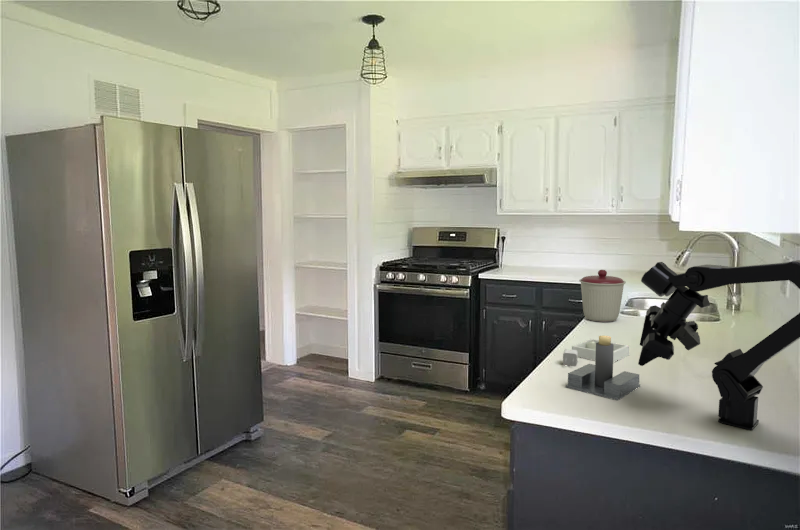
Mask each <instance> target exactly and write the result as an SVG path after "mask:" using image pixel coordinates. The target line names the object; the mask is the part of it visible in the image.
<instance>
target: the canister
mask: <svg viewBox="0 0 800 530" xmlns="http://www.w3.org/2000/svg"><path fill="white" fill-rule="evenodd" d="M607 274H608V272H607V270H606V269H600V270H598V272H597V275H586V276H584V277H582V278H580V279H579V283H580V290H581V300H582V301H581V302H582V310H583V316H584V317H585V318H586V319H587V320H589V321H593V322H598V323H599V322H600V323H609V322H611V323H612V322H615V321H616V320H618V317H619V315H620V312H621V305H622V299H623V295H624V293H623V292H624V285H625V284H626V281H625V280H624V279H622V278H620V277H618V276H612V275H607Z"/></svg>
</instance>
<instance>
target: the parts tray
mask: <svg viewBox="0 0 800 530" xmlns="http://www.w3.org/2000/svg"><path fill="white" fill-rule="evenodd" d="M590 341H593V342H595V343H598V342H599V339H594V338H589V339H585V340H584V341H582V342H578V343H576V344H573V345H571V350H577V352H578V358H580V357H581V358H580V359H585V358H586V360H589V359H592V360H591V361H594V360H595V358H596V350H593V349H588V348H586V343H588V342H590ZM611 344H613V345H614V351H613V362H614V363H616V362H618V361H621V360H622V359H625V358H627V357H628V356H630V345H627V344H622V343H616V342H612V341H611ZM626 356H627V357H626ZM624 357H625V358H624ZM617 360H618V361H617ZM615 361H616V362H615Z"/></svg>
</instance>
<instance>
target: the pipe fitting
mask: <svg viewBox="0 0 800 530" xmlns="http://www.w3.org/2000/svg"><path fill="white" fill-rule="evenodd" d="M586 348H588V349H593V350H596V343H595V342H593V341H590V342H588V343H586Z"/></svg>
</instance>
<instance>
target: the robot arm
mask: <svg viewBox="0 0 800 530" xmlns="http://www.w3.org/2000/svg"><path fill="white" fill-rule="evenodd" d="M782 281H783V282H784V281H786V282H787V281H789V282H791V283H792V284H793V285H795V286H796V287H797V288H798V289H799V290H800V259H797V260H793V261H787V262H775V263H766V264H763V263H762V264H755V265H754V264H753V265H752V264H751V265H742V266H728V265H722V264H720V265H719V264H718V265H717V264H701V265H694V266H691V267H689V268H687V269H686V270H685V272H683V273H679V274H678V273H676V272H675V271H673V269H671V268H669V266H668V265H667V264H666V263H664V261H659V262H656V263H655V264H654V265H653V266H652V267H651V268H649V270H647V271H646V272H645V273H643V275H642V277H641V280H640V282H641V283H642V284H643V285H644V286H646V287H647V288H648V289H649V290H651V291H652V292H653V293H654V294H656V295H657V296H659V298H660V297H664V296H665V297H668V299H667V300H666V302H664V301H662V303H661V304H660V306H657V305H650V306H649V308H648V309H647V310H646V313H645V314H646V315H645V316H644V322H643V327H642V330H641V336H640V341H639V346H641V351H640V354H639V358H638V365H639V366H641V367H643V366H645V365H646V364H648V363H650V362H652V361H653V360H655V359H657V358H661V359H664V360H668V361H669V360H671V358H672V357H674V355H675V346H674V343H673V341H675V340H678V341H679V343H681V344H682V345H683V346H684V349H686V351H690V350H692V349H694V348H695V347H698V346H699V345H701V338H700V335H699V332H698V330H699V324H697V322H696V321H694V320H690V321H687V319H688V317H689V316H690V315H691V314H692V312H693V311H694V310H695V309H696V307H697V306H698V307H699V308H701V309H704V308H708V307H710V305H711V303H710V300H709V295H708V294H705V295H702V294H701V293H700V292H703V291H707V290H711V289H715V288H720V287H723V286H724V287H725V286H729V285H738V284H753V283H768V282H782ZM668 337H669V338H670V339H671V340H673V341H671V340H669V339H668ZM799 339H800V312H798V313H797V314H796V315H794V316H793V317H792V318H791V319H789V320H788V321H787V322H785V323H784V324H783V325H781V326H780V327H779V328H777V329H776V330H774V331H773V332H771V333H770V334H769V335H767V336H766V337H765V338H763V339H762V340H760V341H759V342H758V343H757V344H755V345H753V346H752V347H751V348H750V349H748V350H746V351H745V352H743V351H742V349H741V348H738V349H735V350H733V351H731V352H728V353H727V354H726V355H725V356H724V357H723V358H722V359H721V360H718V361H716V362H714V363H713V364H714V365H716V366H715V367H713V369H711V377H712V381H714V384H715V385H716V386H717V388H718V392H719V396H720V399H718V413H717V414H718V415H717V416H718V418H719V419H718V423H721V424H725V425H729V426H733V427H736V428H740V429H745V430H748V431H752V430H754V429H755V427H756V426H757V425H759V423H760V420H759V419H758V408H759V397H758V395H760V393H761V391H762V390H763V388H764V386H763V385H762V383H761V382H760V381H759V380H758V379H757V378H756V377H755V375H756V374H757V373H758V372H759V370H760V369H761V368H762V366H764V364H765V363H767V362H768V361H769V360H771V359H772V358H774V357H775V356H777V355H778V354H780V352H783V351H784V350H785V349H787V348H788V347H789V346H791V345H793V344H794V343H796V342H797V341H798V340H799Z"/></svg>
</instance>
